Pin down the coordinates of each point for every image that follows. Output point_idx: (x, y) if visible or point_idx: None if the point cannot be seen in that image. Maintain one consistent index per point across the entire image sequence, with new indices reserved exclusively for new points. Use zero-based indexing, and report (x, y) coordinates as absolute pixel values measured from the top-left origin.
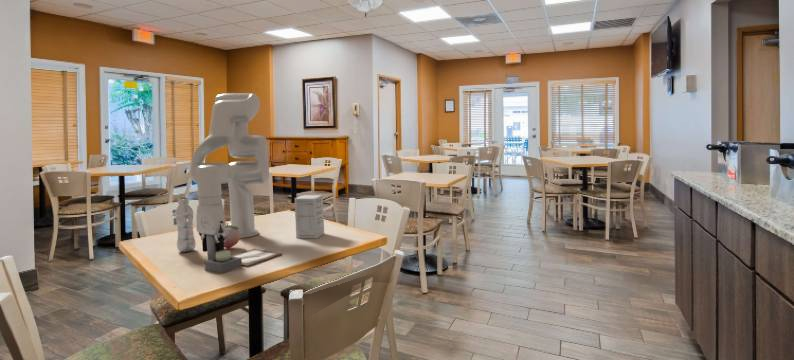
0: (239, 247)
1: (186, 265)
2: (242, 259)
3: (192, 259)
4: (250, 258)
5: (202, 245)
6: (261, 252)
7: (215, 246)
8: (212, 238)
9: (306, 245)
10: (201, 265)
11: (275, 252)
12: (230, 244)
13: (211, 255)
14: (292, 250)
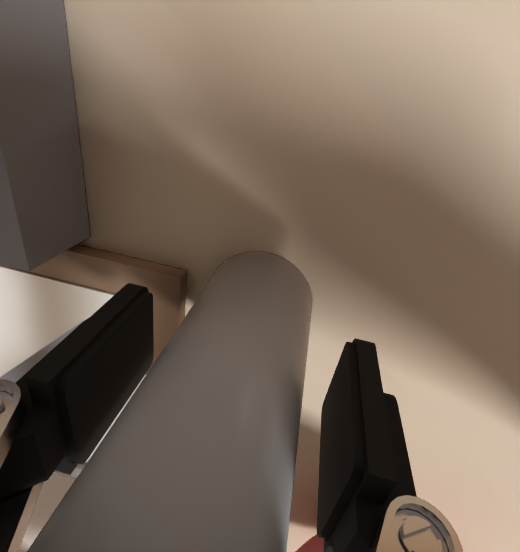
0: (305, 532)
1: (437, 50)
2: (21, 315)
3: (504, 278)
4: (2, 343)
5: (383, 403)
6: None
7: (82, 340)
8: (77, 482)
9: (33, 534)
10: (247, 119)
11: None
12: (313, 540)
13: (222, 283)
14: None
